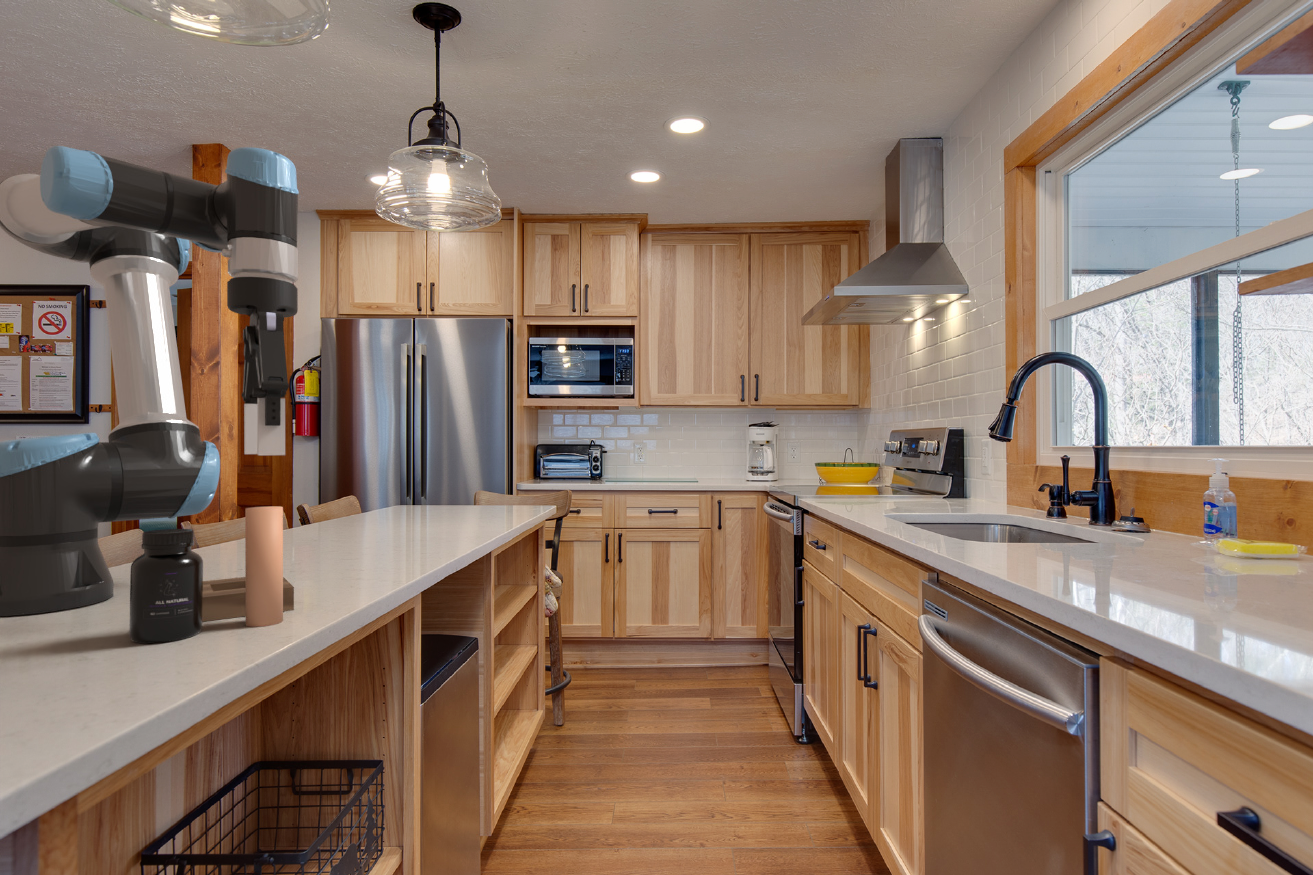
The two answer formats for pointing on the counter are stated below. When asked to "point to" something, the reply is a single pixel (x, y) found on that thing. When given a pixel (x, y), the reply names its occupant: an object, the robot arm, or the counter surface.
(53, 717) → the counter surface
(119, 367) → the robot arm
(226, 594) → the socket block
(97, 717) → the counter surface
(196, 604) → the supplement bottle
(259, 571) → the dowel
